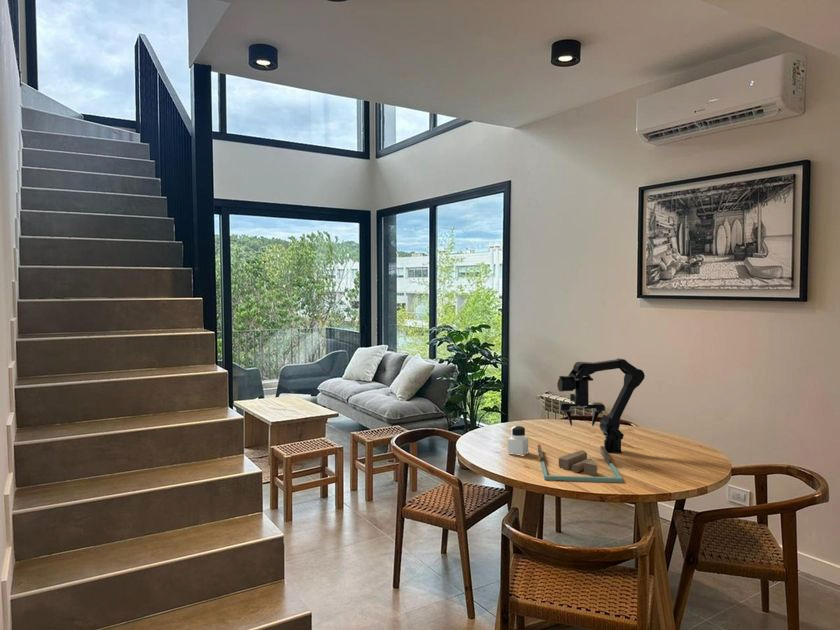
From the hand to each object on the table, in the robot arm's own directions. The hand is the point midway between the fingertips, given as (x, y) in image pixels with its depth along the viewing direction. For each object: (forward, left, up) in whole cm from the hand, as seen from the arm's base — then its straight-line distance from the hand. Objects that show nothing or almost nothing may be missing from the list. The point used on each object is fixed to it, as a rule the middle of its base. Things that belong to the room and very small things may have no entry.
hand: (581, 425), depth 251 cm
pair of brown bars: (+5, +9, -12) cm, 16 cm away
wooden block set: (+1, +22, -13) cm, 25 cm away
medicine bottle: (+28, +4, -12) cm, 31 cm away
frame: (+5, +29, -12) cm, 32 cm away
